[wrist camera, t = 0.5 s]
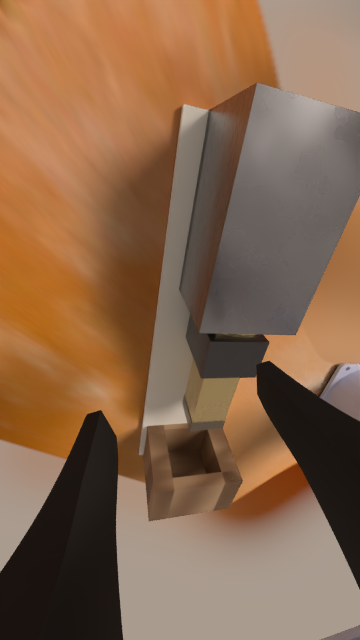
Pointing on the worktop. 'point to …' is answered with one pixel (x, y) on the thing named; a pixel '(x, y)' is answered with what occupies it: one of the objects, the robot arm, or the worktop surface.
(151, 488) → the socket
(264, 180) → the sleeve
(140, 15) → the worktop surface
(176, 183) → the board
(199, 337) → the plug
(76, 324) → the worktop surface
